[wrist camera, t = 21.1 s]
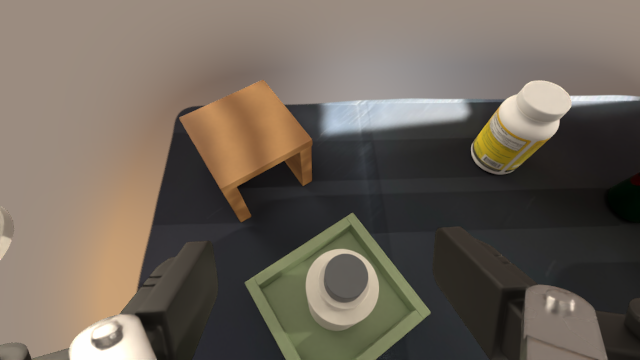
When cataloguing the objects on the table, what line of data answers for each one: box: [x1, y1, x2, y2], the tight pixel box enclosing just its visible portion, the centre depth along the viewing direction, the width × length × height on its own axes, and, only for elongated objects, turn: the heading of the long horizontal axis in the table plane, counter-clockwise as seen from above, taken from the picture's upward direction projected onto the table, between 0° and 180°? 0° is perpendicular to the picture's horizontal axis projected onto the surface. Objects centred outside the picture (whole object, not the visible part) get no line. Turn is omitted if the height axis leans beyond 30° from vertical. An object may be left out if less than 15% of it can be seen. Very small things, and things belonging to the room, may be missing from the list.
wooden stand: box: [179, 80, 312, 222], centre depth 35 cm, size 10×10×9 cm
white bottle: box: [306, 249, 379, 331], centre depth 25 cm, size 5×5×12 cm
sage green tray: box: [245, 213, 431, 360], centre depth 30 cm, size 13×12×4 cm
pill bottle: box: [471, 81, 571, 174], centre depth 36 cm, size 6×6×11 cm
